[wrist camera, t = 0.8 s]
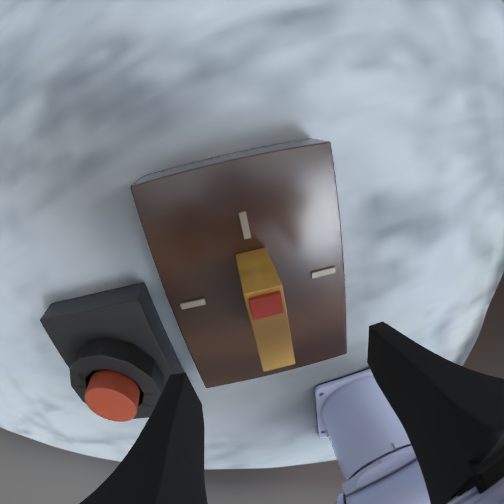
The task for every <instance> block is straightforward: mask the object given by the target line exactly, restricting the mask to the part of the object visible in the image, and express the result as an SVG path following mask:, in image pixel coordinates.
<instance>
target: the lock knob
mask: <svg viewBox="0 0 504 504" xmlns="http://www.w3.org/2000/svg"><path fill="white" fill-rule="evenodd" d="M235 256H236V261H237V266H238V271H239V276H240V281H241V286H242V291H243V295H244V299H245V303H246V307H247V311H248V315H249V319H250V323H251V327H252V331H253V334H254V338H255V342H256V346H257V350H258V354H259V358H260V361H261V365H262V369H263V371H264V372H265V371H269V370H273V369H277V368H281V367H285V366H289V365H293V364H295V358H294V352H293V346H292V339H291V333H290V327H289V321H288V315H287V309H286V303H285V298H284V292H283V286H282V283H281V281H280V279H279V277H278V274H277V272H276V270H275V267H274V265H273V263H272V261H271V258H270V256H269V254H268V252H267V249H266V248H261V249H256V250H252V251H248V252H244V253H239V254H236V255H235Z"/></svg>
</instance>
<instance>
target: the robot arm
mask: <svg viewBox="0 0 504 504" xmlns="http://www.w3.org/2000/svg"><path fill="white" fill-rule="evenodd" d="M367 362H368V365H369V367H370V369H368V370H365V371H362V372H359V373H356V374H353V375H350V376H347V377H344V378H341V379H338V380H335V381H331V382H328V383H325V384H321V385H319V386H317V387H316V388H315V399H316V411H317V422H318V435H319V438H325V437H328V436H329V438H330V441H331V444H332V447H333V449H334V452H335V455H336V458H337V460H338V463H339V466H340V468H341V471H342V474H343V476H344V478H345V479H346V482H344V483H342V484H341V485H342V488H343V490H344V493H341V494H340V495H339V496H338V498H337V501H336V504H504V379H502V378H497V377H493V376H489V375H485V374H482V373H479V372H476V371H473V370H470V369H467V368H465V367H463V366H460V365H458V364H455V363H453V362H451V361H449V360H447V359H445V358H443V357H441V356H439V355H437V354H435V353H433V352H431V351H429V350H428V349H426V348H424V347H422V346H421V345H419V344H417V343H416V342H414V341H413V340H411V339H409V338H408V337H406V336H405V335H403V334H401V333H400V332H398V331H397V330H395V329H394V328H392V327H391V326H389V325H388V324H386V323H384V322H380V323H377V324H374V325H371V326H369V343H368V360H367ZM80 504H207V497H206V491H205V482H204V420H203V411H202V404H201V402H200V400H199V398H198V396H197V394H196V392H195V391H194V389H193V387H192V385H191V383H190V381H189V379H188V377H187V375H186V373H185V372H184V373H178V374H172V375H170V376H169V378H168V380H167V382H166V384H165V387H164V389H163V391H162V393H161V395H160V397H159V400H158V402H157V404H156V406H155V408H154V410H153V412H152V414H151V416H150V418H149V420H148V421H147V423H146V425H145V427H144V428H143V430H142V432H141V434H140V435H139V437H138V439H137V440H136V442H135V444H134V445H133V447H132V448H131V450H130V451H129V452H128V454H127V455H126V457H125V458H124V459H123V460H122V462H121V463H120V464H119V466H118V467H117V468H116V469H115V471H114V472H113V473H112V474H111V475H110V476H109V477H108V478H107V479H106V480H105V481H104V482H103V483H102V484H101V485H100V486H99V487H98V488H97V489H96V490H95V491H94V492H93V493H92V494H91V495H90V496H88V497H87V498H86V499H85V500H84V501H82V502H81V503H80Z"/></svg>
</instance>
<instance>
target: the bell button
mask: <svg viewBox="0 0 504 504" xmlns="http://www.w3.org/2000/svg"><path fill="white" fill-rule="evenodd" d="M139 397H140V390H139V388H138V386H137V384H136V383H135V382H134V381H133V380H132V379H131V378H129V377H128V376H126V375H125V374H123V373H120V372H116V371H112V370H99V371H97V372H95V373H94V374H93V375H92V376H91V378H90V381H89V384H88V387H87V390H86V393H85V402H86V404H87V405H88V407H89V408H90V409H91V410H92V411H93V412H94V413H96V414H97V415H99V416H101V417H103V418H105V419H108V420H112V421H119V422H123V421H128V420H131V419H133V418H134V417H135V416H136V414H137V408H138V402H139Z"/></svg>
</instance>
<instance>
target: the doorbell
mask: <svg viewBox="0 0 504 504" xmlns="http://www.w3.org/2000/svg"><path fill="white" fill-rule="evenodd" d="M40 321H41V323H42V325H43V327H44V328H45V330H46V332H47V333H48V335H49V337H50V338H51V340H52V342H53V343H54V345H55V347H56V348H57V350H58V351H59V353H60V355H61V356H62V358H63V359H64V361H65V362H66V364H67V365H68V367H69V368H70V378H71V386H72V387H73V389H74V390H75V391H76V393H77V394H78V395H79V397H80V398H81V399H82V401H83V402H85V393H86V390H87V387H88V384H89V381H90V378H91V376H92V375H93V374H94V373H95V372H97V371H99V370H112V371H116V372H120V373H123V374H125V375H126V376H128V377H129V378H131V379H132V380H133V381H134V382H135V383H136V384H137V386H138V388H139V390H140V397H139V402H138V408H137V414H136V416H135V417H134V418H133V419H136V418H146V417H150V416H151V414H152V412H153V410H154V408H155V406H156V404H157V402H158V400H159V397H160V395H161V393H162V391H163V389H164V387H165V384H166V382H167V380H168V378H169V376H170V375H172V374H178V373H184V371H183V369H182V367H181V365H180V363H179V361H178V359H177V357H176V354H175V352H174V350H173V348H172V346H171V344H170V342H169V339H168V337H167V335H166V333H165V330H164V328H163V326H162V324H161V321H160V319H159V317H158V314H157V312H156V310H155V307H154V305H153V302H152V300H151V298H150V295H149V293H148V290H147V288H146V285H145V283H140V284H136V285H131V286H127V287H123V288H118V289H114V290H110V291H105V292H101V293H97V294H92V295H88V296H83V297H79V298H75V299H70V300H66V301H61V302H57V303H53V304H51V305H50V306H49V308H48V309H47V311H46V312H45V314H44V315H43V316H42V318H41V319H40ZM85 403H86V402H85Z"/></svg>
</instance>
